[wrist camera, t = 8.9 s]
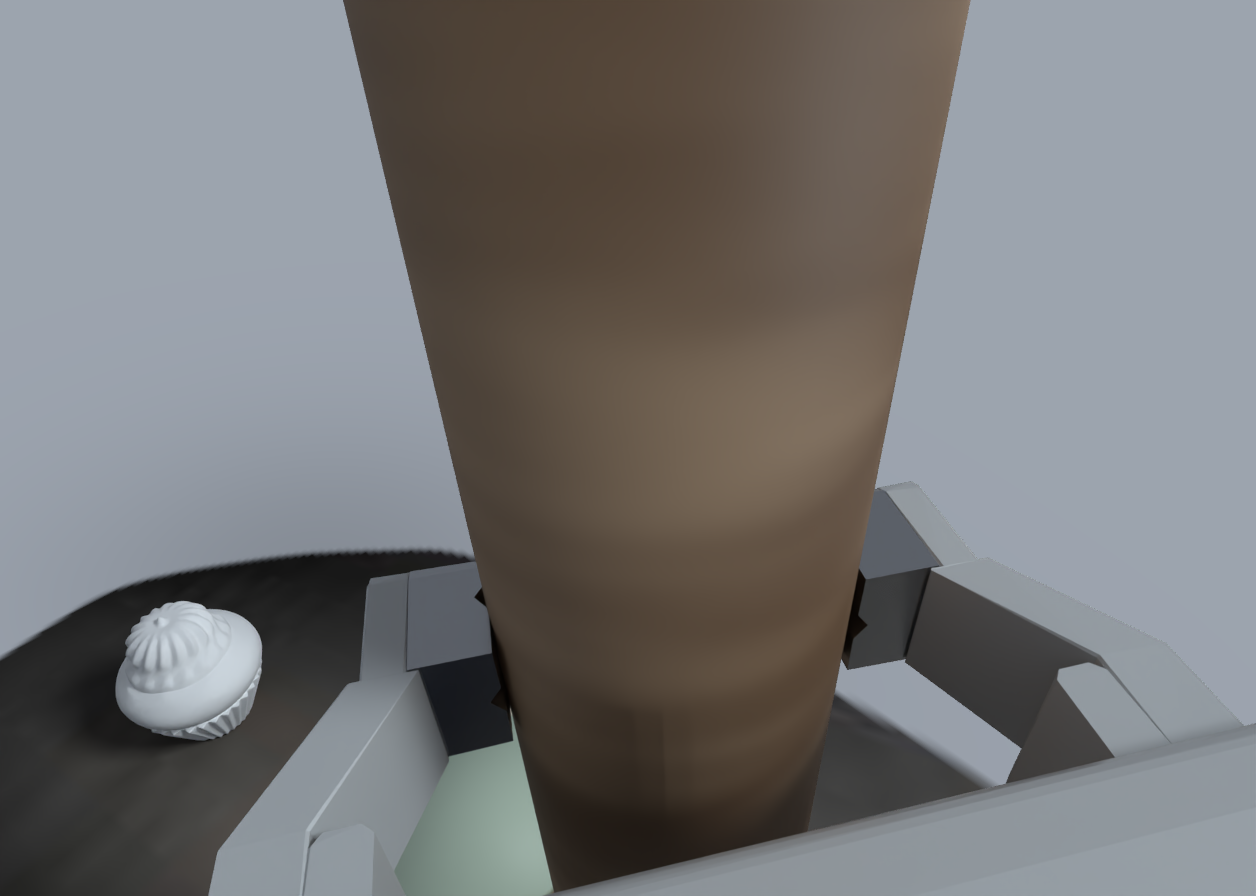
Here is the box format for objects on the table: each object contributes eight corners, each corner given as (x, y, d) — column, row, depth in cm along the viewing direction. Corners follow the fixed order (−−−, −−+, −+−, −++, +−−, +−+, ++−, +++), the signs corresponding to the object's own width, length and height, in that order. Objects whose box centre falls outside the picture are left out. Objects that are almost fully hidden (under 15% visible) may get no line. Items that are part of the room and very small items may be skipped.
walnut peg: (673, 1120, 14) (619, -187, 3) (524, 918, 17) (202, -146, 6) (828, 930, 16) (1139, -202, 5) (675, 780, 19) (660, -169, 8)
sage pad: (433, 1002, 27) (430, 997, 26) (321, 813, 32) (317, 807, 32) (629, 823, 31) (629, 816, 31) (501, 684, 37) (500, 678, 36)
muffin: (269, 759, 36) (211, 665, 31) (130, 780, 35) (53, 688, 31) (295, 650, 41) (248, 556, 36) (173, 668, 40) (112, 574, 36)
